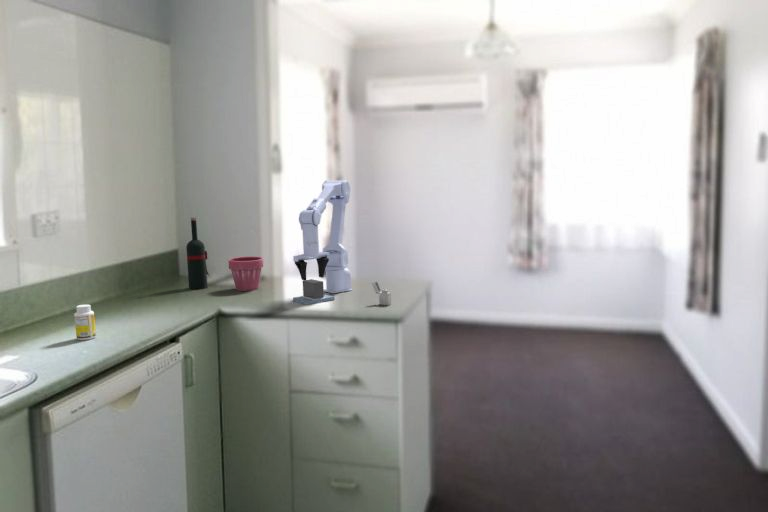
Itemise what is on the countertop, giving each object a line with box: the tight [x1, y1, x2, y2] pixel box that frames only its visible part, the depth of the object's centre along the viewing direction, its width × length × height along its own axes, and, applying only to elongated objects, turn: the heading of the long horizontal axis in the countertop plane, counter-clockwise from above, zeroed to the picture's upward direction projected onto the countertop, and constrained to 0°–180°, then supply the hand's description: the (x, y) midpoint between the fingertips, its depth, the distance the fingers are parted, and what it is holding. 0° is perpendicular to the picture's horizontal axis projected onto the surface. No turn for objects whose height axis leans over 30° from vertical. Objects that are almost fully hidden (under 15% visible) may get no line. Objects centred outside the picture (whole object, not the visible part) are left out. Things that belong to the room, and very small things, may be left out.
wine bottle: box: [185, 216, 210, 291], centre depth 300 cm, size 8×10×30 cm
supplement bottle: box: [74, 304, 97, 341], centre depth 216 cm, size 6×6×10 cm
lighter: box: [371, 280, 392, 306], centre depth 253 cm, size 7×2×8 cm, turn 54°
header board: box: [292, 293, 335, 306], centre depth 264 cm, size 12×10×4 cm
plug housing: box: [302, 279, 325, 299], centre depth 264 cm, size 4×8×6 cm, turn 38°
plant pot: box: [228, 256, 264, 292], centre depth 293 cm, size 14×14×13 cm
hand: (312, 278), depth 263 cm, fingers open, 7 cm apart
